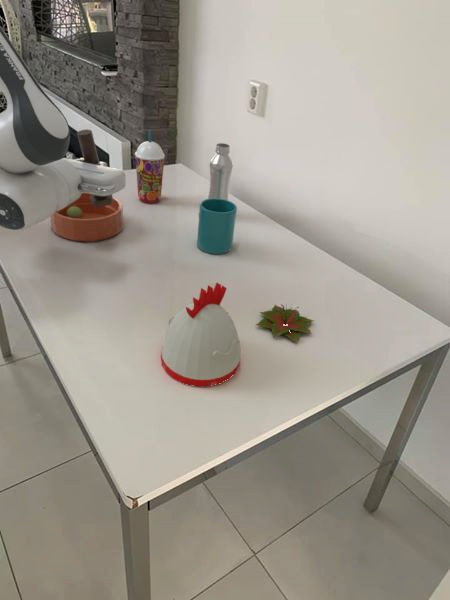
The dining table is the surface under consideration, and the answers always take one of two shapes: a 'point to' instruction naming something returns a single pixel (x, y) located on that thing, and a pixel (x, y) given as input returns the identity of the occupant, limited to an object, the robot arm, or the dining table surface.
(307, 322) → the green leafy plant
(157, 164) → the smoothie
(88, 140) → the masher
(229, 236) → the cup
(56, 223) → the bowl
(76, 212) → the green ball
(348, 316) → the dining table surface
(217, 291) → the kitchen timer
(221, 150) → the silver bottle
